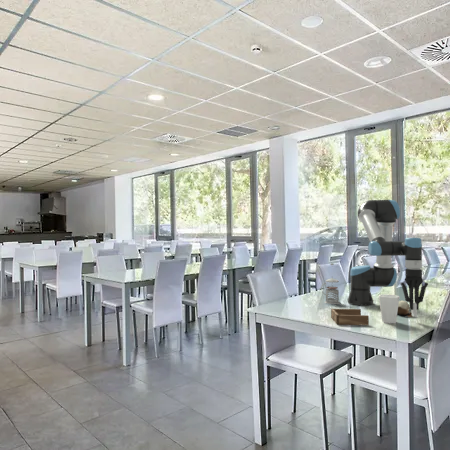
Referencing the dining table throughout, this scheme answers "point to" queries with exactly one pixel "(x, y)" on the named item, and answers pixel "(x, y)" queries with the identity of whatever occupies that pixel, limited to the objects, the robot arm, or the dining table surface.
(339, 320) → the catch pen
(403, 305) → the white and brown lump
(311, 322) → the dining table surface
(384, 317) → the foam cup
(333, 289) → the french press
